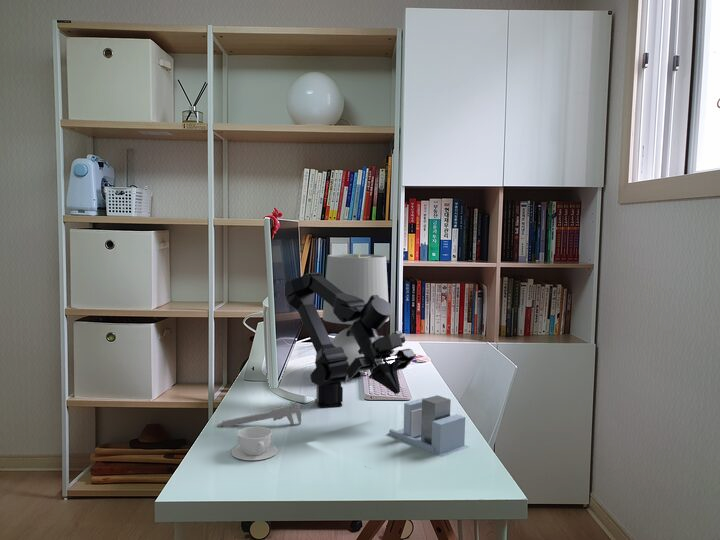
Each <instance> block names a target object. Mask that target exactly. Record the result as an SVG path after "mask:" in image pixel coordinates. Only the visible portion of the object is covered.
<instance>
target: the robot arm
mask: <svg viewBox="0 0 720 540" xmlns="http://www.w3.org/2000/svg"><path fill="white" fill-rule="evenodd" d="M284 285H285V296H286V298H285V300H286V301H287V302H288V305H289V306H291V307H293V308H294V309H295V310H296V311H297V312H298V314H299V316H300V318H301V319H300V320H301V321H302V323H303V326H304V328H305V330H306V333H307V335H308V336H309V340H310V341H311V343H312V345H313V348H314V350H315V352H316V355H315V361H314V364H315V368H314V369H313V371H312V372H311V373H310V376H309V377H310V381H311V383H313V384H315V385H316V392H315V393H316V394H315V395H316V397H315V399H314V401H315V404H316V405H317V406H318V408H332V407H334V408H335V407H342V406H343V396H344V395H343V390H344V389H343V386H342V382H344V381H346V378H347V375H348V378H347V379H349V381H351V380H352V381H353V380H357V379H360V377H361V375H362V373H361V372H363V371H364V370H369V372H370V374H369V375H368V379H370V380H373V381H376V382H377V383H379V384H380V385H381V386H384V387H385V388H386V389H388V390H389V391H391V392H392V393H393V394H394V395H395V394H396V395H398V394H399V393H400V392H401V388H400V382H399V374H398V371H401V370H405V369H406V368H407V367H408V366H409V365H410V363H411V362H412V361H413V360H414V359H415V358H416V357H417V356H416V354H415V352H414V350H413V349H411V348H405V349H399V350H398V351H397V352H396V353H395V350H394V349H397V348H399V347H400V348H401V347H403V344H404V343H405V342H406V337H405V335H404V333H403V331H401V330H396V331H395V332H392V333H391V334H387V335H379V333H378V332H377V330H379V329H381V328H382V326H383V325H385V323H386V322H385V321H386V320H387V319H388V318H389V319H390V316H391V315H392V313H393V312H394V309H393V306H392V304H391V303H390V302H389V301H388V302H387V301H386V300H384V299H382V298H380V297H379V296H378V295H372V296H371V297H370V298H369V301H368V302H367V303H365V302H364V301H363V300H362V299H360V298H358V297H356V296H353V295H348V294H345V293H344V292H342V291H341V290H340V289H338V288H337V287H336V286H335V285H333V284H332V283H331V282H329V281H328V280H327V279H326V277H324V275H323V274H322V273H320V272H307V273H305V274H303V275H302V276H300V277H296V278H294V279H291V280H287V281H285V283H284ZM316 295H318V296H319V297H320V298H321V299H322V300H323V301H324V300H325V301H326V302H327V303H329V304H330V305H331V306H332V307H333V313H334V314H335V315H336V316H337V318H338V319H339V320H340V321H341V322H351V321H354V323H353V324H350V325H348V326H347V328H348V330H347V333H346V336H347V337H349V336H354V338H355V340H356V342H357V344H358V345H359V347H360V349H359V350H358V352H359V354H363V355H364V357H358V358H355V359H354V360H353V362H352V363H351V364H350V365H349V363H348V361H347V359H348V358H347V357H346V355H345V353H344V350H343V348H342V347H335V346H334V345H333V344H332V340H331V338H330V336H329V334H328V331H327V330H326V328H325V325H324V323H323V321H322V319H321V315H319V313H318V310H317V308H316V306H315V303H314V301H315V296H316ZM285 296H284V297H285ZM394 353H395V354H394ZM392 354H394V355H393V356H391V355H392ZM346 382H347V381H346Z"/></svg>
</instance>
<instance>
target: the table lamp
mask: <svg viewBox="0 0 720 540" xmlns="http://www.w3.org/2000/svg"><path fill="white" fill-rule="evenodd" d="M387 267H388V266H387V256H385V255H380V254H366V253H365V254H364V253H363V254H362V253H361V254H360V253H344V254H343V253H340V254H339V253H335V254H327V260H326V269H325V271H326V272H325V273H326V274H325V279H327V280H328V281H329V282H331V283H332V284H333V285H335V286H336V287H337V288H338V289H340V290H341V291H342V292H344V293H345V294H348V295H353V296H356V297H358V298H360V299H362V300H363V301H364V302H365V303H367V302H368V301H369V298H370V297H371V296H372V295H378V296H379V297H380V298H382V299H384V300H386V301H387V302H388V303H389V291H388V290H389V289H388V288H389V285H388V272H387V271H388V270H387ZM322 305H323V307H322V319H321V320H323V321H324V322H327V323H328V322H329V323H331V324H332V323H333V324H341V325H352V324H353V323H354V321H351V322H341V321H340V320H339V319H338V318H337V316H336V315H335V314H334V313H333V307H332V306H331V305H330V304H329V303H327V302H326V301H325V300H324V299H323V304H322ZM389 321H390V317H389V318H388V319H387V320H386V321H385V323H386V322H389ZM347 330H348V327H347V328H344V329H343V330H341V331H340V332H338V333H337V334H336V335H335V336H334V338H333V339H332V340H331V342H332V344H333V345H334V346H335V347H342V348H343V350H344V353H345V355H346V357H347V358H348V359H347V361H348V363H349V365H350V364H351V363H352V362H353V360H354V359H355V358H358V357H364V355H363V354H359V352H358V350H359V349H360V347H359V345H358V344H357V342H356V340H355V338H354V336H349V337H347V336H346V333H347ZM364 372H370V370H364V371H362V373H363V374H364ZM348 379H349V377H348V375H347V378H346V381H343V382H346V383H347V381H348Z"/></svg>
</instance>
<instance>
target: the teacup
mask: <svg viewBox="0 0 720 540" xmlns="http://www.w3.org/2000/svg"><path fill="white" fill-rule="evenodd" d="M272 435H273V431H272V429H271V428H268V427H265V426H256V425H255V426H249V427H248V426H247V427H243V428H242V429H239V430H238V431H237V443H238V445H237V446H235V447H234V448H233V449H232V450H231V456H233V457H234V458H236V459H240V460H243V461H260V460H265V459H269V458H272V457H273V456H276V455H277V453H278V452H279V450H278V447H277V446H275V444H271V441H272Z"/></svg>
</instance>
